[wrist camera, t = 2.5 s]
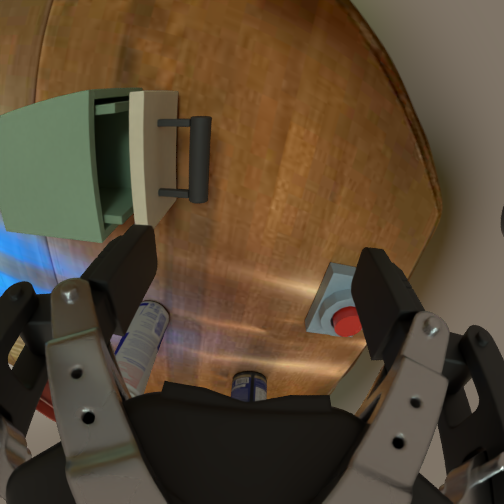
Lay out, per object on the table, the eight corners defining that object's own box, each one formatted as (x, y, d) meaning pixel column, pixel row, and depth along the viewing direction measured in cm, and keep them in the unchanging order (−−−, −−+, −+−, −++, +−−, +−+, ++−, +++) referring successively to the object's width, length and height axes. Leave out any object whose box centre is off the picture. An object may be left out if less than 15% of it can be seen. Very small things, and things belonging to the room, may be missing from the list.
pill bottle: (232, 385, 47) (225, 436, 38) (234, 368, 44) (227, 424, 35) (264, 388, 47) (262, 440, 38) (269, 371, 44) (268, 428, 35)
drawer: (223, 91, 22) (204, 88, 15) (216, 203, 28) (199, 241, 21) (68, 103, 22) (20, 114, 15) (76, 195, 28) (36, 225, 21)
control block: (330, 261, 32) (336, 282, 28) (379, 271, 32) (389, 292, 29) (304, 320, 37) (307, 342, 34) (349, 326, 37) (354, 346, 34)
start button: (339, 304, 31) (341, 314, 29) (365, 307, 31) (368, 318, 29) (327, 325, 32) (329, 335, 31) (353, 327, 33) (355, 338, 31)
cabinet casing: (142, 87, 22) (88, 89, 14) (144, 200, 29) (102, 243, 21) (44, 105, 22) (-13, 120, 14) (52, 197, 29) (6, 231, 21)
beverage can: (132, 307, 38) (93, 389, 25) (149, 292, 36) (108, 381, 23) (158, 327, 40) (128, 410, 27) (177, 313, 38) (147, 404, 25)
